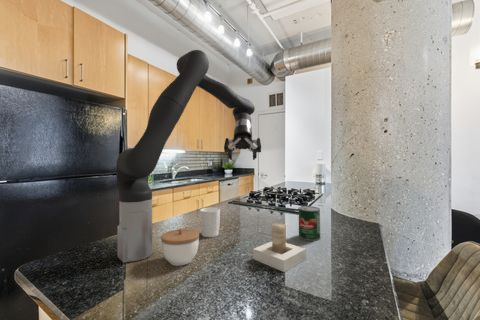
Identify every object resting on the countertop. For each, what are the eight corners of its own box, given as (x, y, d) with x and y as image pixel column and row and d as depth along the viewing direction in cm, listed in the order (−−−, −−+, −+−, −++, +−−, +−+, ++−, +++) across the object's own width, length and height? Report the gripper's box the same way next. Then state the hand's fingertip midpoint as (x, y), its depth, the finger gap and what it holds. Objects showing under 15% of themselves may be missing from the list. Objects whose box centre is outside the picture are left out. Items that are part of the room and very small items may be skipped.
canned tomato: (317, 234, 88) (317, 206, 88) (323, 241, 80) (322, 210, 80) (297, 233, 89) (296, 206, 89) (300, 240, 81) (300, 210, 81)
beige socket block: (284, 272, 58) (284, 260, 58) (253, 258, 66) (253, 248, 66) (306, 259, 66) (306, 248, 66) (276, 248, 74) (275, 239, 74)
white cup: (219, 238, 84) (218, 211, 84) (198, 238, 84) (198, 211, 85) (221, 231, 92) (221, 207, 92) (202, 231, 92) (202, 207, 92)
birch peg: (280, 263, 63) (280, 227, 63) (269, 258, 66) (269, 225, 66) (288, 259, 66) (288, 225, 66) (277, 254, 69) (277, 222, 69)
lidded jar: (159, 272, 59) (159, 236, 59) (162, 255, 69) (162, 225, 69) (201, 266, 61) (200, 232, 61) (197, 251, 72) (197, 222, 72)
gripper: (225, 124, 92) (222, 150, 80) (260, 124, 91) (262, 150, 79) (226, 138, 97) (223, 165, 85) (259, 138, 96) (261, 165, 85)
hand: (242, 158), depth 82 cm, fingers open, 8 cm apart
